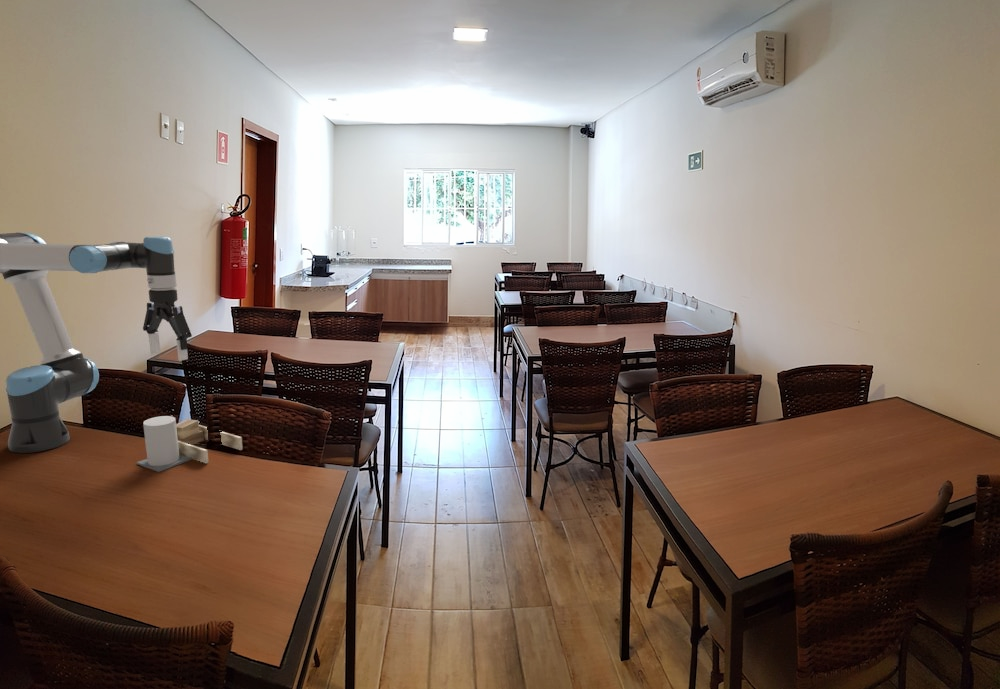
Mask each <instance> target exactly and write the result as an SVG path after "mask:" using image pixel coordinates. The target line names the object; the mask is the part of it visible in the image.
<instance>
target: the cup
mask: <svg viewBox="0 0 1000 689" xmlns="http://www.w3.org/2000/svg"><path fill="white" fill-rule="evenodd" d="M176 419H177V418H176V416H175V417H174V416H171V415H161V416H155V417H151V418H148V419H146V420H144V421H143V432H144V442H145V452H146V459H147V461H148V464H149V465H153V466H162V465H168V464H171V463H174V462H176V461H177V460H179V448H178V438H177V428H176V424H177V422H176Z"/></svg>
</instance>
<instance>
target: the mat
mask: <svg viewBox="0 0 1000 689" xmlns="http://www.w3.org/2000/svg"><path fill="white" fill-rule="evenodd" d="M191 460H192V459H191V458H190V457H187V456H184V455H181V454H179V460H177V461H176V462H174V463H171V464H168V465H162V466H153V465H149V464H148V461H147V458H146V459H142V460H139V461H136V464H137V465H138V466H141V467H144V468H146V469H149V470H152V471H155V472H157V473H161V472H163V471H165V470H169V469H170V468H173V467H176V466H178V465H182V464H184V463H186V462H189V461H191Z"/></svg>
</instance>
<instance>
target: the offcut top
mask: <svg viewBox="0 0 1000 689" xmlns="http://www.w3.org/2000/svg"><path fill="white" fill-rule="evenodd" d="M199 425H200V424H199V420H198V419H197V420H196V419H189V418H187V419H184V420H182V421H180V422H178V423H176V428H177V438H181V439H184V438H186V437H188V436H190V435H192V434H194V433H196V432H198V431H199Z"/></svg>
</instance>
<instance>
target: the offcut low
mask: <svg viewBox="0 0 1000 689" xmlns="http://www.w3.org/2000/svg"><path fill="white" fill-rule="evenodd" d="M204 440H205V439H204V437H203V431H201V430H199V431H198V432H196V433H194V434H192V435H190V436H188V437H186V438H184V439H181V438H178V441H181V442H184V443H187V444H188V443H189V444H191V445H195V444H198V443H200V442H204Z"/></svg>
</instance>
